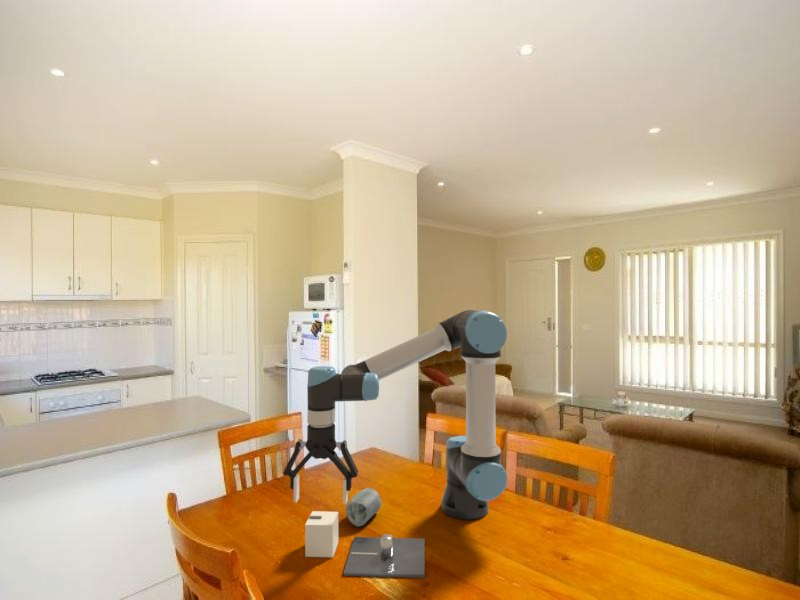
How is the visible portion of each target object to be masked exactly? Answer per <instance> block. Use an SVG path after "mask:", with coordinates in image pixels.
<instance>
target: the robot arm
mask: <svg viewBox="0 0 800 600" xmlns="http://www.w3.org/2000/svg"><path fill="white" fill-rule="evenodd" d="M507 339H508V331H507V327H506V324H505V322H504V321H503V319H502V318H501V317H500V316H499V315H497V314H495V313H494V312H491V311H488V310H475V309H474V310H473V309H470V310H469V309H468V310H464V311H460V312H458V313H457V314H454V315H453V316H450V317H447V319H445V320H443V321H440V322H438V323H437V324H436V325H435V327H434V328H433V329H430V330H428V331H426V332H424V333H422V334H420V335H417V336H415V337H413V338H411V339H408V340H406V341H404V342H402V343H399V344H397V345H395V346H394V347H391V348H389V349H386V350H384V351H382V352H380V353H377V354H375V355H374V356H371V357H369V358H367V359H365V360H363V361H360V362H358V363H356V364H348V365H346V366H345V367H344V368H343V369H342V371H341V373H337V372H336V368H335V367H334V366H326V365H324V366H323V365H321V366H318V365H317V366H313V367H311V368H310V369H309V370H308V372H307V388H306V390H307V392H306V393H307V413H306V414H307V424H308V425H306V426H307V427H306V430H307V431H306V433H307V435H306V439H307V440H306V441H305V440H302V439H301V438H299V439H298V440H297V441H296V442H295V445H294V451H293V452H292V455H291V457H290V458H289V461H288V463H287V465H286V466H285V469H284V471H283V472H282V473H283V476H287V477H289V479H290V480H289V481H290V482H289V487H290V490H293V503H295V504H296V503H297V502H298V501H299V499H300V474H298V473H299V472H300V471H301V470H302V468H303V467H304V466H305V465H306V464H307V462H308V461H309V460H310V459H311V458H314V460H318V459H322V460H327V459H329V460H330V462H331V463H333V464H334V465H335V467H336V468H337V469H338V470H339V471H340V473H341V474H342V475H343V476H344V478H343V479H342V481H343V483H342V484H343V485H342V486H343V487H342V490H343V492H342V493H343V494H342V504H343V505H347V504H348V500H349V499H348V497H349V492H350V491H351V489H352V481H353V478H357V477H358V475H359V470H358V468H357V466H356V463H355V462H354V460H353V458H352V455H351V454H350V451H349V449H348V442H347V440H342V441H336V424H335V422H336V402H338V403H339V402H340V403H341V402H363V401H364V402H368V401H375V400H377V399H378V398H379V394H380V381H381V380H384V379H385V378H387V377H390V376H392V375H393V374H395V373H398V372H400V371H403V370H405V369H408V368H409V367H411V366H413V365H415V364H418V363H420V362H422V361H424V360H426V359H428V358H430V357H433V356H435V355H437V354H440V353H441V352H443V351H447V352H451V351H453V350H456V349H458V348H459V349H460V358H462V359H463V361H464V362H465V435H456V436H451V437H449V438H448V439H447V440H446V448H445V450H446V451H445V452H446V484H445V489H444V492H443V495H442V497H441V510H442V512H444V513H445V514H446V516H447V515H448V516H450V517H452V518H455V519H460V520H476V519H480V518H483V517H485V516H486V515H487V514H488V513H489V501H493V500H495V499H497V498H498V497H499V496H500V495H501V494H503V493H504V491H505V490H506V488H507V485H508V475H507V471H506V469H505V468H504V466H503V465H502V450H501V448H500V447H499V446H498V445H497V443H496V363H497V362H498V361H499V360H500V359H501V354H502V353H501V349H502V347H503V346H504V345H505V344H506V341H507ZM304 448H306V449H307V451H308V452H307V454H306V455H305V456H304V458H303V459H301V461H300V462H299V463H298V464H297V466H296V467H295V468H294V469H292V468H293V466H294V464H295V462H296V460H297V458H298V457H299V454H300V453H301V450H303V449H304ZM336 448H338V450H339V451H341V455H342V456H343V460H344V461H345V463H346V464H345V463H344V462H343V460H342V459H341V458H340V457H339V456H338V453H337V452H336V451H335V449H336Z"/></svg>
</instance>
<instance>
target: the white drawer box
mask: <svg viewBox="0 0 800 600" xmlns="http://www.w3.org/2000/svg"><path fill="white" fill-rule="evenodd" d="M304 529H305V531H304V540H305V541H304V544H305V545H304V546H305V547H304V548H305V549H304V553H305V557H306V558H333V557H334V555H335V553H336V550H337V547H338V544H339V511H323V510H322V511H319V510H317V511H316V510H314V511H311V513H310V514H309V517H308V518H307V520H306V522H305V525H304Z"/></svg>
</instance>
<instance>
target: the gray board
mask: <svg viewBox="0 0 800 600" xmlns="http://www.w3.org/2000/svg"><path fill="white" fill-rule="evenodd" d="M425 542H426V539H425V538H414V537H413V538H410V537H393V535H392V534H389V533H384V534H381V536H380V537H375V536H374V537H371V536H354V537H353V540H352V544H351V547H350V549H349V553H348V557H347V559H346V563H345V566H344V570H343V576H345V577H346V576H349V577H351V576H352V577H356V576H357V577H377V578H378V577H379V578H380V577H382V578H389V577H390V578H411V579H412V578H414V579H417V578H418V579H425V570H426V569H425V564H426V562H425V561H426V560H425V557H426V556H425V555H426V554H425V553H426V552H425V548H426V547H425V545H426V543H425Z"/></svg>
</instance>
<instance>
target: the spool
mask: <svg viewBox="0 0 800 600" xmlns="http://www.w3.org/2000/svg"><path fill="white" fill-rule="evenodd" d="M345 505H346V506H345V514H346V518H347V519H348V520H349V521H350V523H351V524H352V525H353V526H355V527H362V526H364V525H365V524H366V523H368V521H369V520H371V518H372V517H373V516H374V515H375V514H377V513H378V512H379V510H380V509H381V507H382V498H381V496H380V494H379V493H378V491H377V490H375V489H374V488H371V487H368V488H367V487H366V488H364V489H361V490H360V491H359V492H357V493H356V494H354V496H352V498H351V499H350V500H349V501H347V503H346V504H345Z"/></svg>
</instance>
